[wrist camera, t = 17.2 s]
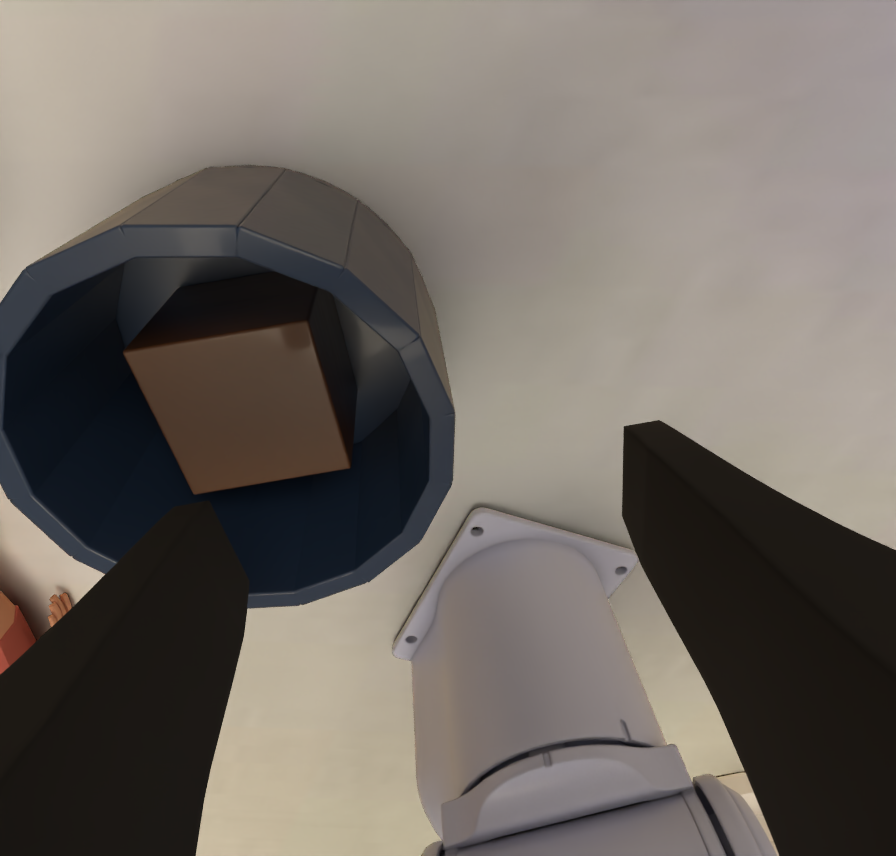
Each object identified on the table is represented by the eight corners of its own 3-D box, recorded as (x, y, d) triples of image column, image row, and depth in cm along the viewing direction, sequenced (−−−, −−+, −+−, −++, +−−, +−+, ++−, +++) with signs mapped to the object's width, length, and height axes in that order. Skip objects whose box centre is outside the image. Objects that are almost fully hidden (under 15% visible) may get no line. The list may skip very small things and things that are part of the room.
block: (358, 390, 19) (351, 469, 16) (229, 412, 19) (193, 496, 16) (324, 262, 17) (308, 320, 13) (177, 287, 17) (120, 351, 13)
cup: (372, 495, 22) (367, 639, 17) (84, 416, 20) (-34, 559, 14) (486, 250, 18) (532, 340, 12) (129, 96, 15) (-23, 123, 9)
